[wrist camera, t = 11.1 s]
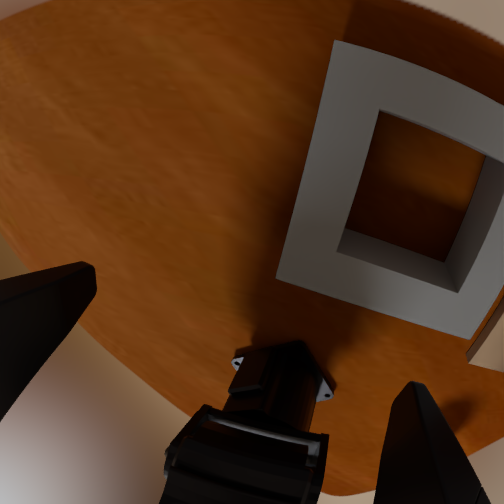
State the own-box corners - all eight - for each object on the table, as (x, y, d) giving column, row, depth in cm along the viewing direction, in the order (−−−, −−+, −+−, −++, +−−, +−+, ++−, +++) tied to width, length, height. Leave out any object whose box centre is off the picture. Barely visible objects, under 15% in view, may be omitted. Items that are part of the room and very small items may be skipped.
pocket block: (528, 134, 12) (559, 142, 9) (457, 306, 18) (469, 339, 15) (338, 53, 14) (334, 39, 11) (288, 250, 20) (274, 278, 17)
